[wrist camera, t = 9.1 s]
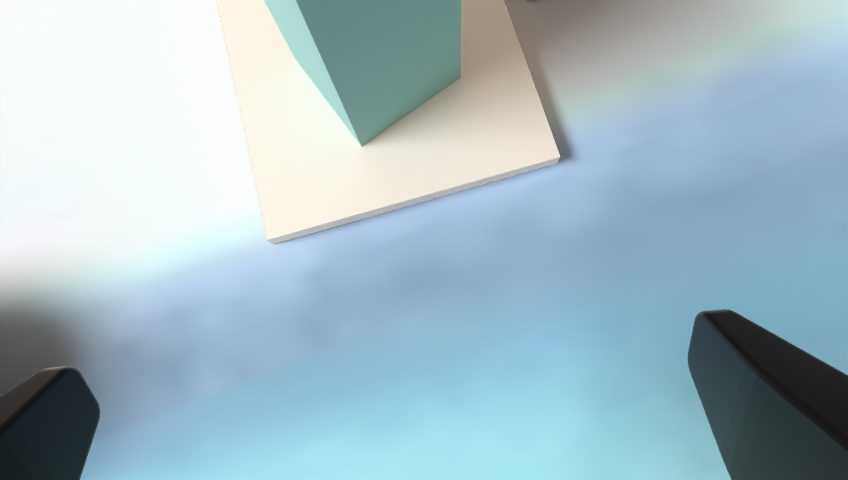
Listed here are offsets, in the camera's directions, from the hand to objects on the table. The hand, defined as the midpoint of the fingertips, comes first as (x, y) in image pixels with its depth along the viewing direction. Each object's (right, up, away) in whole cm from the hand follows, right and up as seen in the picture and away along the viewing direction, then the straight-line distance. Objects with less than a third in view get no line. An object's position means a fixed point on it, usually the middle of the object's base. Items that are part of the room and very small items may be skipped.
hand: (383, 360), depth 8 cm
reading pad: (-1, +9, +16) cm, 18 cm away
